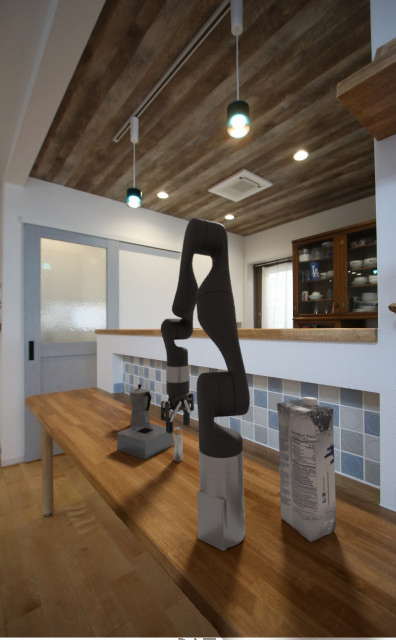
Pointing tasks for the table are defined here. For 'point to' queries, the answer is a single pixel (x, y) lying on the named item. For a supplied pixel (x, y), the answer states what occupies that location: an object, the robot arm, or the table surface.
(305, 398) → the juice carton
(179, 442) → the cylinder
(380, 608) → the table surface
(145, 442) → the bore block
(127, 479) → the table surface
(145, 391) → the coffeepot
